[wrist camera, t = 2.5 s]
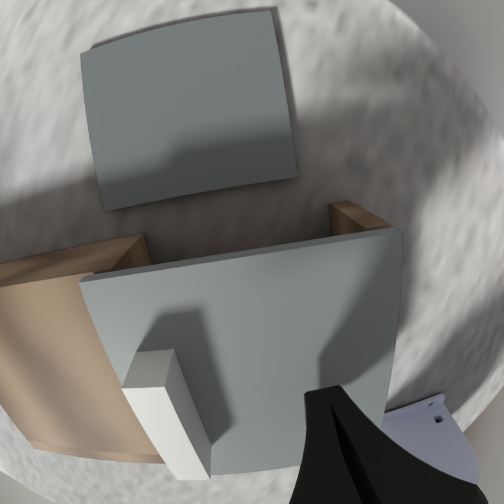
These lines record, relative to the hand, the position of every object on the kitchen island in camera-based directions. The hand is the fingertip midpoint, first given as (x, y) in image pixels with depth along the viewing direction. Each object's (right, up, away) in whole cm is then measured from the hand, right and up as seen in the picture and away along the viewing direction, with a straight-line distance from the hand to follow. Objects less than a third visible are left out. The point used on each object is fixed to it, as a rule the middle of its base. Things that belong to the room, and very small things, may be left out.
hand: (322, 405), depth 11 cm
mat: (-6, +12, +2) cm, 14 cm away
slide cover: (-2, 0, +1) cm, 3 cm away
